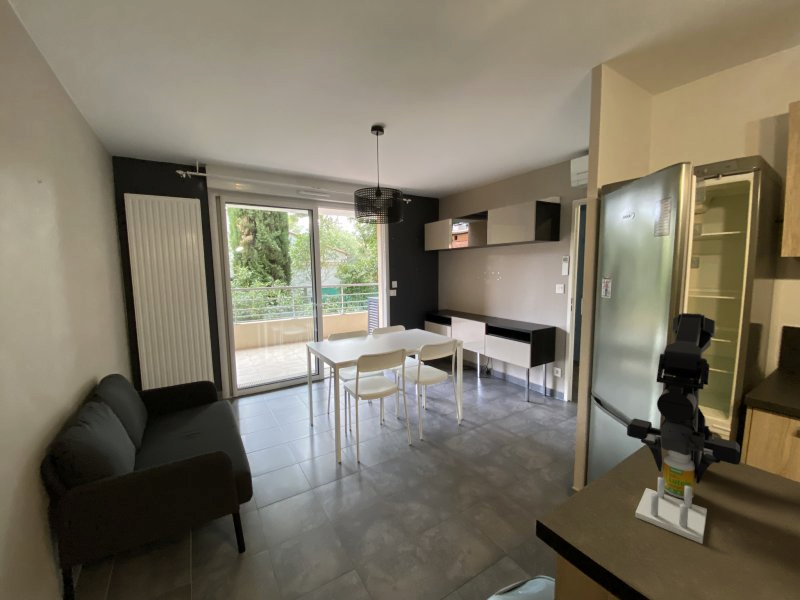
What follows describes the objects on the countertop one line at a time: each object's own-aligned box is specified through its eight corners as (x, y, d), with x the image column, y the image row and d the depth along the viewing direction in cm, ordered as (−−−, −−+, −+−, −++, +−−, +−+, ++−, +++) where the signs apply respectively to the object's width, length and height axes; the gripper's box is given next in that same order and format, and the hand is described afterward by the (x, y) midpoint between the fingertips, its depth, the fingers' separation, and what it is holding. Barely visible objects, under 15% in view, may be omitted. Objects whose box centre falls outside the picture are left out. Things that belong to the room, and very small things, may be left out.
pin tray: (646, 492, 75) (646, 470, 75) (706, 513, 68) (707, 489, 68) (635, 516, 68) (635, 492, 67) (702, 543, 60) (703, 517, 60)
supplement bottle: (665, 495, 74) (666, 452, 74) (660, 482, 79) (661, 441, 78) (697, 502, 72) (698, 457, 71) (690, 488, 76) (691, 446, 76)
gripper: (621, 406, 75) (620, 474, 76) (741, 432, 62) (737, 514, 63) (633, 394, 83) (631, 456, 84) (741, 415, 70) (737, 488, 71)
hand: (678, 476), depth 75 cm, fingers open, 6 cm apart
